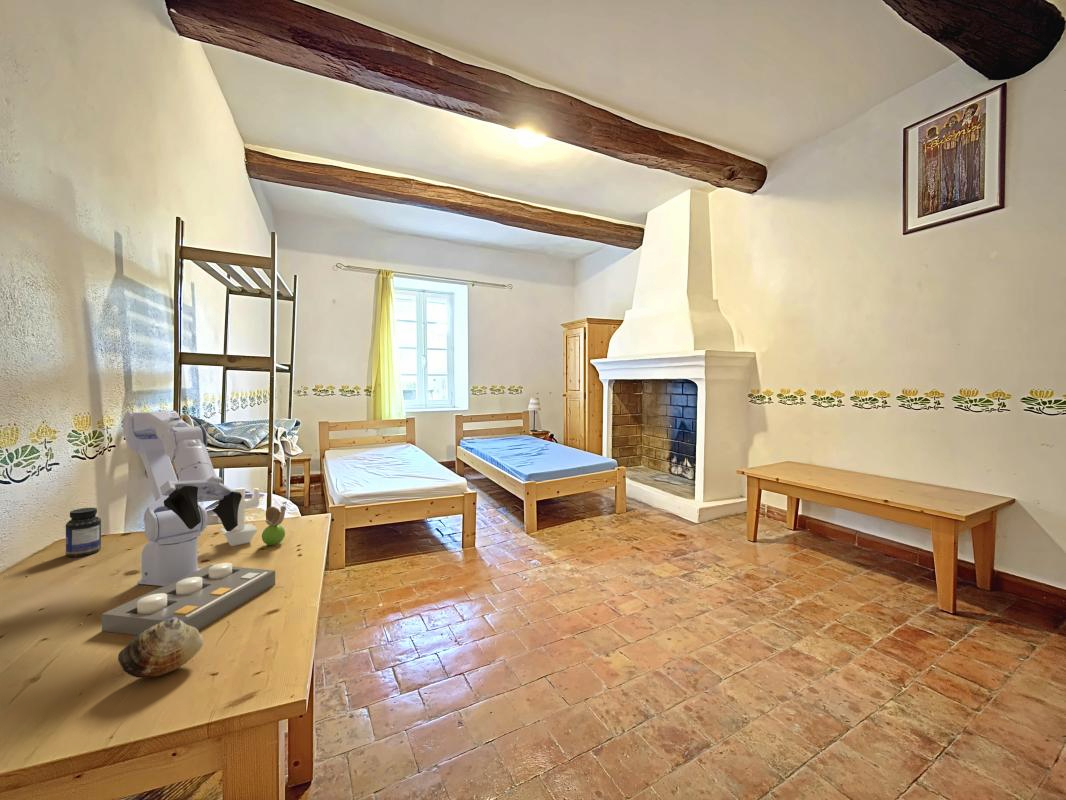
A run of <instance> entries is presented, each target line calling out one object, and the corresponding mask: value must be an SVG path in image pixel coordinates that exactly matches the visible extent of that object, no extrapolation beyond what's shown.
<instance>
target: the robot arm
mask: <svg viewBox="0 0 1066 800" xmlns="http://www.w3.org/2000/svg"><path fill="white" fill-rule="evenodd" d="M122 430H123V437H124V440H125V443H126V445H127V447H128V449H129V450H131V451H134V452H136V453H138V455H139V456H140V459H141V461H142V463H143V466H144V468H145V469H144V470H145V472H146V475H147V478H148V481H149V484H150V487H151V491H152V493H153V497H154V500H155V501H154V502H152V503H151V504H149V505H148V506H147V507H146V509H145V512H144V514H143V523H144V524H143V525H144V533H145V538H146V539H147V541H148V542H147V543H145V546H144V547H143V548H142V551H141V579H140V580H138V581H137V582H136V583H137V584H139V585H149V586H159V587H163V586H165V585H167V584H169V583H171V582H174V581H176V580H178V579H180V578H182V577H185V576H187V575H189V574H191V573H194V572H196V571H198V570H200V569H201V568H198V537H201V533H203V532H204V531H205V530H206V528H207V526H208V513H207V509H206V508H205V506H204V505H203V504H202V502H213V501H218V502H217V504H218V505H217V506H216V507H214V508H213V509H211V511H212V512H214V513H215V514H216V516H217V518H218V517H219V518H220V519H221V521H222V523H221V524H222V525H223V528H225V529H226V531H231V530H233V529H234V528H235V527H236V526H238V507H239V504H240V501H241V498H242V495H241V493H240V492H238V491H234V490H233V489H232V488H231V487H228V486H227V485H225V484H224V483H222V481H223V479H222V477H221V476H217V474H216V472H215V469H214V465H213V464H212V460H211V457H210V454H209V452H208V450H207V448H208V447H207V446H208V433H207V430H206V428H205V426H204V425H197V426H195V425H194V426H192V425H191V424H189V423H187V421H184V420H183V419H181V417H180V414H179V413H178V412H177V411H176V410H171V411H169V410H167V411H166V410H165V411H163V410H162V411H126V412H125V413H124V414H123V416H122ZM173 465H174V466H173ZM174 467H175V469H174ZM175 470H176V472H175ZM176 474H177V475H176Z"/></svg>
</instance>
